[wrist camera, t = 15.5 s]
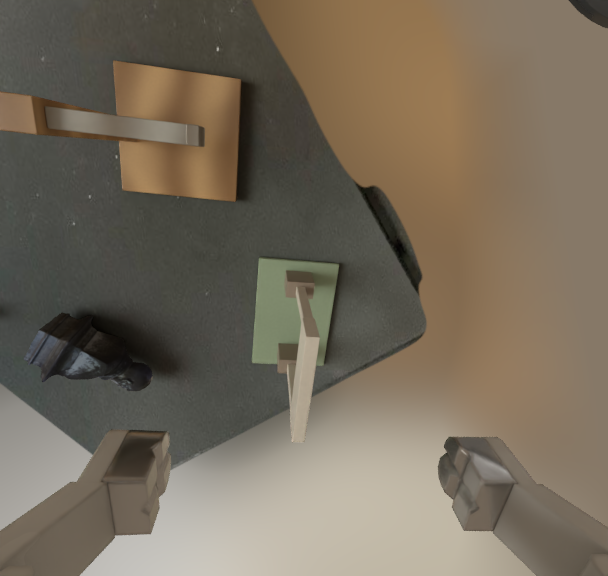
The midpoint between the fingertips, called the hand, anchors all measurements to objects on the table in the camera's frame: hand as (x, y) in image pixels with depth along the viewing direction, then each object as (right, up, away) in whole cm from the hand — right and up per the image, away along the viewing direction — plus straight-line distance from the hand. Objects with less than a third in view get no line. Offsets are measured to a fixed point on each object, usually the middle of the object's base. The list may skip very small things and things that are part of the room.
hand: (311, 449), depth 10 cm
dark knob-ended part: (-26, -3, +35) cm, 43 cm away
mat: (-2, +1, +35) cm, 36 cm away
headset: (-2, +1, +35) cm, 35 cm away
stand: (-13, +21, +26) cm, 36 cm away
